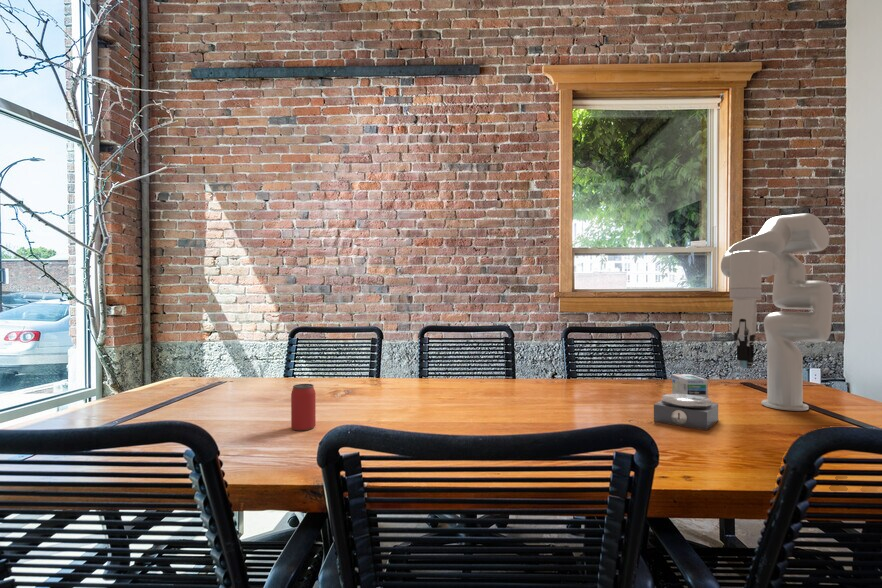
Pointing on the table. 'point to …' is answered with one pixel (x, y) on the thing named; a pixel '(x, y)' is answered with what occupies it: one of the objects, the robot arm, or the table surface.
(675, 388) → the light bulb box
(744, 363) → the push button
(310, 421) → the beer can
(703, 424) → the scale
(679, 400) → the scale pan
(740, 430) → the table surface
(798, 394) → the robot arm
